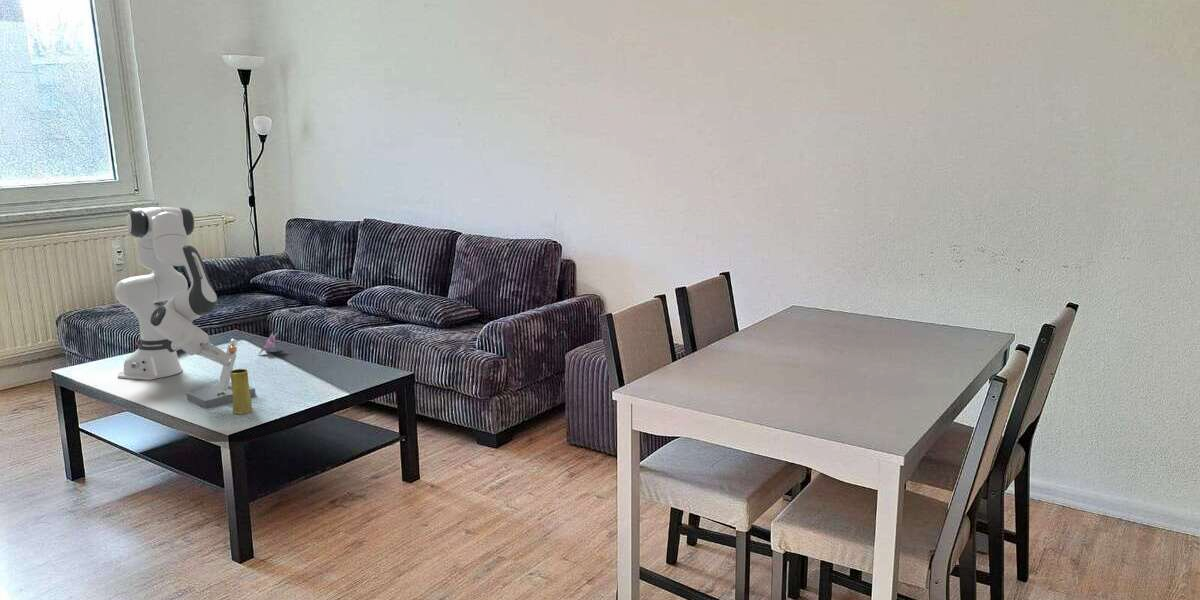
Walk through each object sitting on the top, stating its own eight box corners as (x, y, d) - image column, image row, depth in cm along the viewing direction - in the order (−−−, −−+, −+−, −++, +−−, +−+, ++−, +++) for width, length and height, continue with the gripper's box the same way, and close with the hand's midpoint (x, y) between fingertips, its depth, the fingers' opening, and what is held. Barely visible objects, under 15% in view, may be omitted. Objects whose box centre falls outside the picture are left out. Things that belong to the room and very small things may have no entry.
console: (205, 408, 295) (204, 399, 294) (187, 399, 304) (186, 391, 303) (255, 395, 308) (254, 387, 307) (236, 387, 317) (236, 379, 316)
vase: (236, 408, 293) (232, 368, 290) (255, 408, 294) (251, 368, 291) (230, 414, 287) (226, 373, 284) (249, 414, 288) (245, 373, 285)
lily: (280, 350, 371) (267, 332, 368) (296, 343, 364) (282, 325, 361) (260, 365, 361) (247, 347, 359) (276, 359, 355) (262, 339, 352)
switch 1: (222, 382, 308) (233, 339, 309) (218, 380, 310) (228, 337, 311) (229, 382, 310) (240, 340, 311) (225, 380, 312) (235, 338, 313)
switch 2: (221, 390, 299) (232, 346, 300) (216, 388, 301) (227, 344, 302) (228, 391, 301) (239, 347, 302) (223, 389, 303) (234, 345, 304)
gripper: (214, 339, 286) (245, 361, 295) (188, 329, 299) (218, 351, 308) (202, 354, 283) (234, 377, 292) (176, 344, 297) (206, 366, 306)
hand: (225, 363), depth 300 cm, fingers closed, pressing on switch 2
